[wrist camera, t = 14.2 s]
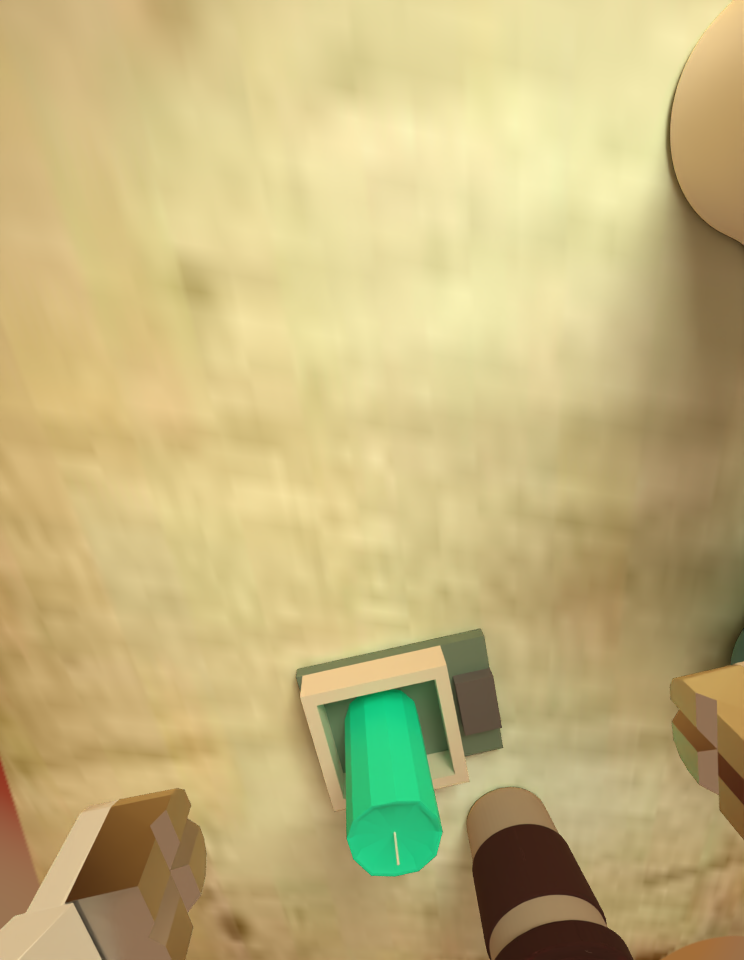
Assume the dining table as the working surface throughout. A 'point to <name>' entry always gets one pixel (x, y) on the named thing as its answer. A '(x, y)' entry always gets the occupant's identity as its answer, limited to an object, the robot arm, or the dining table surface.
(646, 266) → the dining table surface
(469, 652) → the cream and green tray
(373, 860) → the candle
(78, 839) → the robot arm
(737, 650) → the casserole dish
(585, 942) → the coffee cup
